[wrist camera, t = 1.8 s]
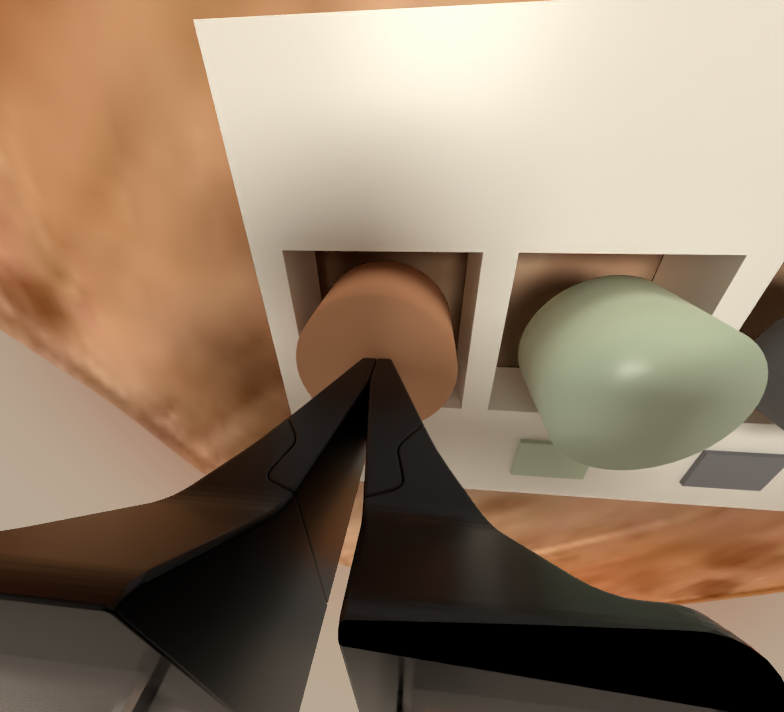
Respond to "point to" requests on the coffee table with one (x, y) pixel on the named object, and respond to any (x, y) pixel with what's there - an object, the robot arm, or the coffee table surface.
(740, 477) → the panel
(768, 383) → the charcoal button
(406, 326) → the rust button
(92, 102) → the coffee table surface
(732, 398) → the sage button
